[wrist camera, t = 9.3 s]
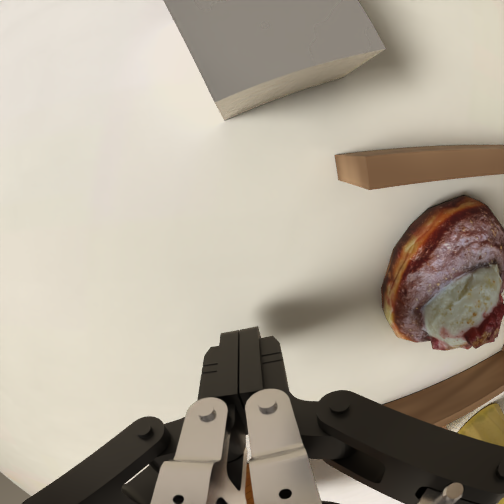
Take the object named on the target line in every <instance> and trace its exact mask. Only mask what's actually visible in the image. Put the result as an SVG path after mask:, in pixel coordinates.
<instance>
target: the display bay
mask: <svg viewBox="0 0 504 504" xmlns="http://www.w3.org/2000/svg"><path fill="white" fill-rule="evenodd" d="M335 160H336V167H337V173H338V180H340V181H343V182H346V183H350V184H353V185H356V186H359V187H362V188H365V189H368V190H372V189H379V188H386V187H393V186H400V185H408V184H415V183H423V182H431V181H439V180H448V179H456V178H466V177H475V176H485V175H496V174H504V145H449V146H426V147H409V148H396V149H384V150H374V151H364V152H355V153H346V154H338V155H335ZM503 391H504V345H503V348H502V351H500V352H498V353H497V354H495V355H493V356H491V357H490V358H488V359H486V360H484V361H483V362H481V363H479V364H477V365H475V366H473V367H471V368H469V369H467V370H465V371H463V372H461V373H459V374H457V375H455V376H453V377H451V378H449V379H447V380H445V381H442V382H440V383H438V384H436V385H433V386H431V387H429V388H426V389H424V390H421V391H419V392H416V393H414V394H411V395H409V396H406V397H404V398H401V399H398V400H395V401H392V402H390V403H387V404H384V406H386V407H389V408H391V409H394V410H396V411H399V412H401V413H404V414H406V415H409V416H411V417H414V418H417V419H419V420H422V421H425V422H427V423H430V424H433V425H436V426H438V427H443V426H445V425H447V424H449V423H451V422H453V421H455V420H456V419H458V418H460V417H462V416H464V415H466V414H468V413H469V412H471V411H473V410H475V409H476V408H478V407H480V406H481V405H483V404H485V403H486V402H488V401H489V400H491V399H493V398H494V397H496V396H497V395H499V394H500V393H502V392H503Z"/></svg>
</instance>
